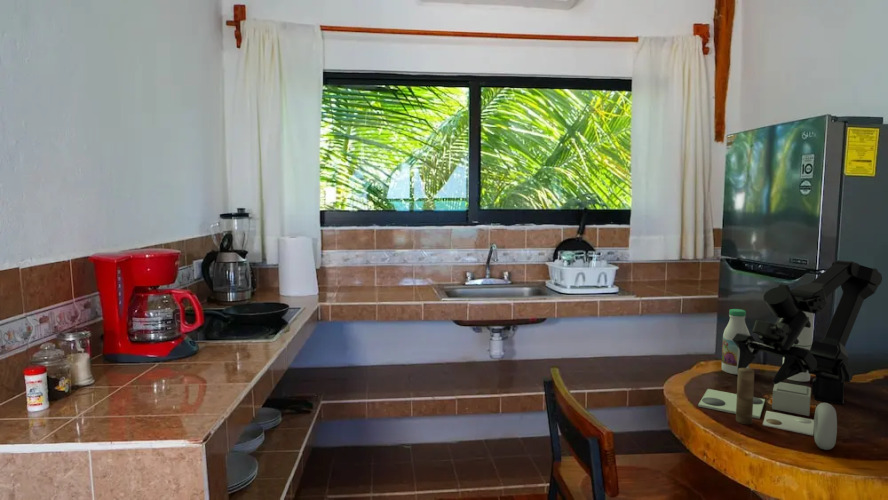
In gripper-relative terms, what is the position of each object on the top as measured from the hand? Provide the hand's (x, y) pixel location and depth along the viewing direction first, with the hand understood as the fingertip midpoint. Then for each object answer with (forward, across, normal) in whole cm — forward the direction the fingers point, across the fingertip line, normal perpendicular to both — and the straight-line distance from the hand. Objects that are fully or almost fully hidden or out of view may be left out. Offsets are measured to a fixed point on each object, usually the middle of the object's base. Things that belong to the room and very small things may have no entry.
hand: (755, 377), depth 129 cm
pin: (+10, 0, +5) cm, 11 cm away
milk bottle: (-13, -27, +28) cm, 41 cm away
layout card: (+4, +5, +11) cm, 13 cm away
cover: (-4, -1, +18) cm, 19 cm away
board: (+5, -9, +10) cm, 14 cm away
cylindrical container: (-21, -15, +36) cm, 45 cm away
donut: (+8, +17, +7) cm, 20 cm away
